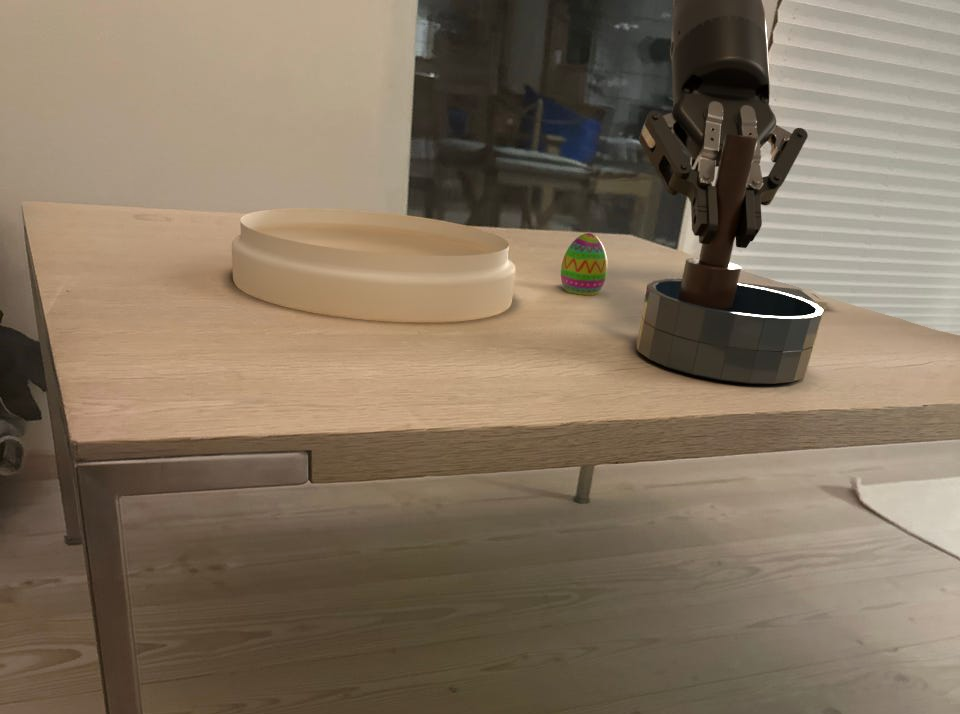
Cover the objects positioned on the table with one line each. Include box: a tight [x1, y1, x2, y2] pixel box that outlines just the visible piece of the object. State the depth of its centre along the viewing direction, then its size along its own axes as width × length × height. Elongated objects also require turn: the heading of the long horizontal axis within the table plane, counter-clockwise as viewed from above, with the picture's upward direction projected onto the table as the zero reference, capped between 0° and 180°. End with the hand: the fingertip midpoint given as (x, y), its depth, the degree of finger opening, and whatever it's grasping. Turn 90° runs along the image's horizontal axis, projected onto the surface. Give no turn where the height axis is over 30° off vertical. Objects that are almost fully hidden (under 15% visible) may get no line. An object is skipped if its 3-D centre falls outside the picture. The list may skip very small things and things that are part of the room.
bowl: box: [635, 278, 825, 385], centre depth 77 cm, size 14×14×6 cm
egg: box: [560, 232, 608, 296], centre depth 98 cm, size 5×5×6 cm
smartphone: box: [738, 282, 829, 311], centre depth 107 cm, size 7×16×1 cm, turn 87°
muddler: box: [678, 134, 758, 309], centre depth 72 cm, size 4×4×12 cm
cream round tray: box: [231, 207, 516, 324], centre depth 89 cm, size 27×27×6 cm
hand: (727, 238), depth 71 cm, fingers closed on muddler, 2 cm apart
